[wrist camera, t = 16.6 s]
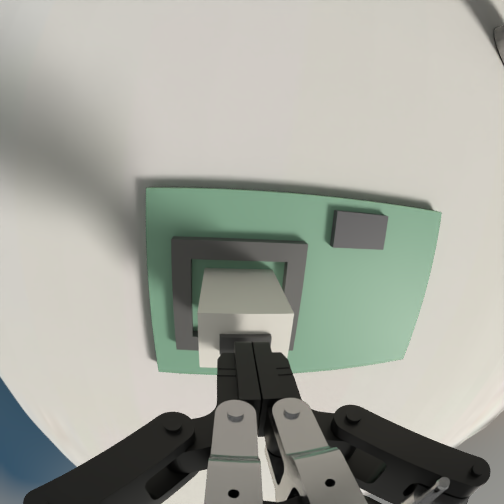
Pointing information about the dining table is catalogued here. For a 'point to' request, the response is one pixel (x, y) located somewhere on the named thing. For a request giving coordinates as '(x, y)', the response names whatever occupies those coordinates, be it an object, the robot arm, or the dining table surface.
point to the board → (292, 269)
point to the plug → (241, 312)
